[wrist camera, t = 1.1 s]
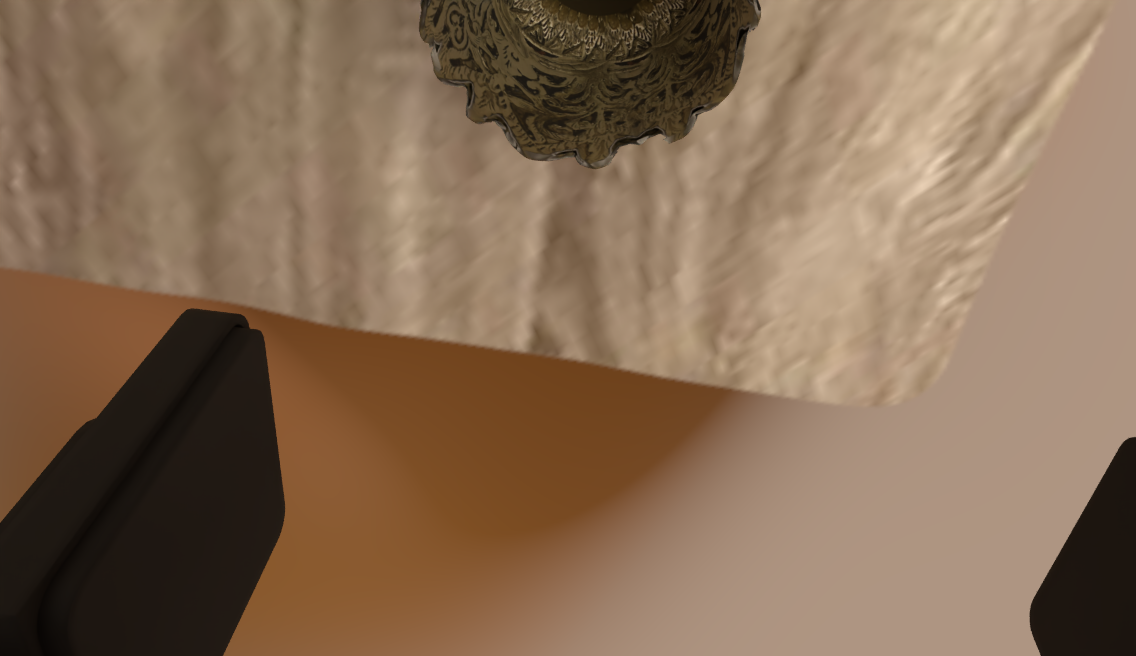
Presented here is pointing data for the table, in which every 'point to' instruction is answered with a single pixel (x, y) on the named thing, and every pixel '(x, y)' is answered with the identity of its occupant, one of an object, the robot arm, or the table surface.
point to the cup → (588, 67)
